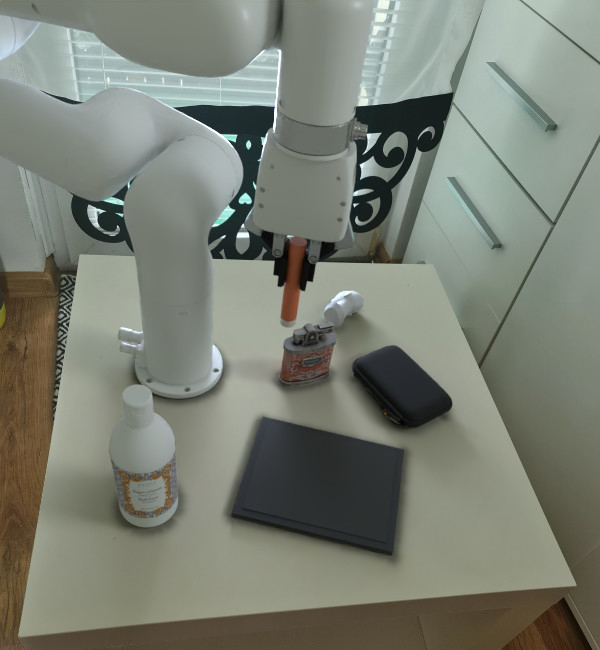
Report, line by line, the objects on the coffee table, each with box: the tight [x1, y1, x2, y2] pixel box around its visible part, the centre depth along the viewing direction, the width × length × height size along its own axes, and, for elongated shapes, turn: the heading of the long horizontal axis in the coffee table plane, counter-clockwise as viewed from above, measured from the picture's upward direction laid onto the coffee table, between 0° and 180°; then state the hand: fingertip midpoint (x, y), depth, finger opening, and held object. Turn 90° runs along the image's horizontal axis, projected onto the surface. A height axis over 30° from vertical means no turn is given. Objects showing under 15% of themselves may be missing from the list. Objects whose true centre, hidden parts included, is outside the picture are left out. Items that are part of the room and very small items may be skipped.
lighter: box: [278, 321, 338, 388], centre depth 88 cm, size 8×3×10 cm, turn 114°
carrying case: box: [351, 344, 453, 429], centre depth 91 cm, size 11×3×15 cm
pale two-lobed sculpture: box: [323, 290, 365, 327], centre depth 101 cm, size 4×8×5 cm
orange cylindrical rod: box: [279, 236, 308, 328], centre depth 73 cm, size 2×2×12 cm
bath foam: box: [108, 384, 179, 528], centre depth 67 cm, size 7×7×20 cm
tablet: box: [231, 415, 405, 556], centre depth 80 cm, size 20×16×1 cm
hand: (293, 281), depth 73 cm, fingers closed on orange cylindrical rod, 2 cm apart
